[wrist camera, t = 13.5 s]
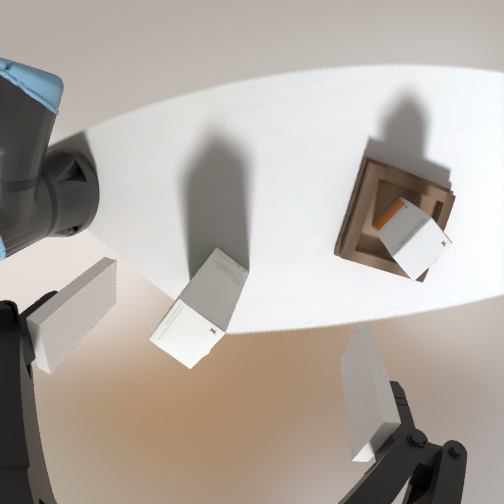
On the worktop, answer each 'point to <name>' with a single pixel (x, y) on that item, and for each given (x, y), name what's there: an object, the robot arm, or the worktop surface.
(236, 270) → the skincare box
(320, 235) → the worktop surface
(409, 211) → the skincare box
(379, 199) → the brown square tray
